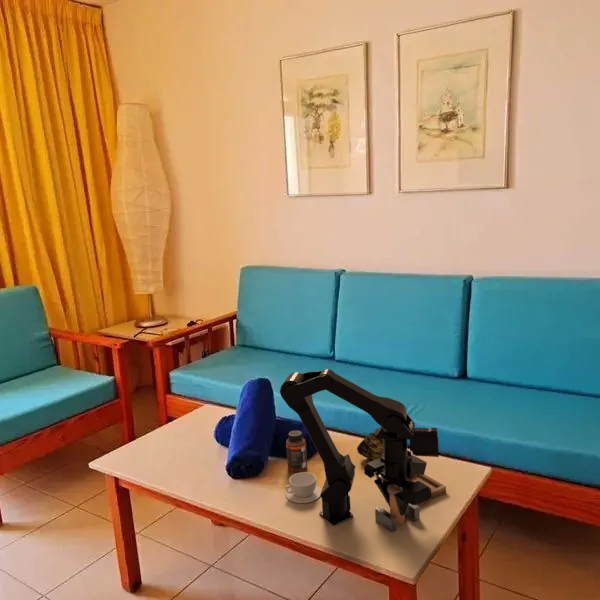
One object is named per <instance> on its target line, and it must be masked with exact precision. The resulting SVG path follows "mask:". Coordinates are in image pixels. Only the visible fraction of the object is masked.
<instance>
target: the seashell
mask: <svg viewBox="0 0 600 600" xmlns="http://www.w3.org/2000/svg"><path fill="white" fill-rule="evenodd" d="M379 428H380V427H376V429H375V430H374V432H370V433H368V434H366V435H365V437H364V439H362V440H361V442H360V443H359V444H358V446H356V449H357V453H358V455H360V456H363V457H364V458H367V459H369V460H370V461H374V460H376V459H379V458H380V457H382V456H384V445H383V439H379V438H375V434H376V430H377V429H379Z"/></svg>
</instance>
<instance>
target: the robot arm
mask: <svg viewBox="0 0 600 600" xmlns="http://www.w3.org/2000/svg"><path fill="white" fill-rule="evenodd" d="M323 391H327V392H329V393H331V394H332V395H334V396H336V397H338V398H339V399H341V400H344V401H345V402H347V403H349V404H351V405H352V406H355V407H356V408H358V409H360V410H362V411H364V412H365V413H367V415H369V416H370V417H371V418H372V419H373V420H374V422H375V423H376V424H378V425H379V426H380V427H378V428H379V429H377V428H376V429H377V430H376V429H375V430H376V434H375V438H379V439H383V445H384V456H382V457H380V458H379V459H376V460H374V461H373V460H370V461H369V462H366V464H365V466H364V467H363V470H364V471H363V473H364V475H365V476H367V477H368V478H370V479H372V478H374V477H376V479H374V480H373V482H374V484H376V486H377V488H378V489H379V492H380V493H381V495H382V497H384V499H385V501H386V503H387V505H388V507H389V508H390V495H389V493H388V491H387V486H388V485H389V484H391V483H392V484H394V485H396V486H397V487H399V488H400V489H401V490H400V492H399V493H396V494H394V496H395V499H396V503H397V506H398V509H399V512H400V515H401V516H403V515H404V514H405V512H406V510H407V507H408V505H409V503H410V504H411V505H417V504H419V503H421V502H423V501H425V500H427V499H430V498H431V488H430V487H428V486H427V485H425V484H423V483H421V482H420V481H417V482H413V481H408V478H410V479H411V478H413V477H414V474H421V475H424V474H425V473H426V469H427V468H426V467H427V464H428V462H427V461H425V460H424V459H421V458H420V457H429V458H430V457H431V458H433V457H434V458H439V437H438V428H437V427H416V423H415V422H414V420H413V418H412V417H410V415H409V414H408V411H407V408H406V405H405V404H403V403H402V402H400V401H397V400H395V399H393V398H391V397H388V396H387V397H385V396H379V395H376V394H374V393H372V392H370V391H368V390H366V389H365V388H363V387H361V386H359V385H358V384H355V383H353V382H352V381H350V380H348V379H346V378H345V377H343V376H341V375H339V374H337V373H335V372H334V370H332V369H331V368H330V369H329V368H325V369H322V370H314V371H313V370H312V371H311V370H310V371H307V372H295V371H294V372H291V373H290V374H288V376H287V377H286V379H285V380H284V381H283V383H282V385H281V386H280V389H279V394H280V396H281V398H282V399H283V401H284V402H285V403H286V405H287V406H288V407H289V409H291V410H292V411H293V412H295V414H297V415H298V416H299V417H298V418H300V421H301V422H302V425H303V426H304V428H305V430H306V432H307V433H308V436H309V438H310V440H311V442H312V444H313V446H314V448H315V449H316V451H317V454H318V455H319V457H320V459H321V461H322V463H323V467H324V468H323V469H324V474H325V480H324V483H323V486H322V489H321V491H322V492H321V495H320V498H321V507H322V508H321V509H322V510H320V511H319V513H318V515H320V516H321V517H322V518H324V519H325V520H326V521H327V522H328V523H329V524H331V525H332V526H335V525H337V524H339V523H342V522H344V521H347V520H349V519H350V518H351V519H352V518H353V517H354V514H353V512H351V496H350V495H349V493H350V492H351V489H352V487H353V484H354V479H355V476H356V471H355V470H356V465H355V464H354V463H353V462H352V460H351V457H350V455H349V454H346V455H342V453H340V452H339V450H338V449H337V447H336V444H335V443H334V441H333V439H332V437H331V435H330V433H329V431H328V430H327V429H328V428H326V425H325V423H324V421H323V420H322V418H321V415H320V414H319V412H318V410H317V407H316V406H315V404H314V400H313V395H314V394H316V393H319V392H323ZM408 440H409V450H408Z"/></svg>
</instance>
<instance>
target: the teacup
mask: <svg viewBox="0 0 600 600" xmlns="http://www.w3.org/2000/svg"><path fill="white" fill-rule="evenodd" d="M288 481H289V484H286V486H285V497H286V498H287V499H288V500H289V501H291V502H293V503H298V504H307V503H310V502H314V501H316V500H318V499H320V498H321V496H320V495H321V492H322V489H321V487H319V486H318V485H317V477H316V475H315V474H313V473H311V472H308V471H307V472H306V471H300V472H295V473H294V474H292V475H291V476H290V477H289V479H288Z"/></svg>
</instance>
